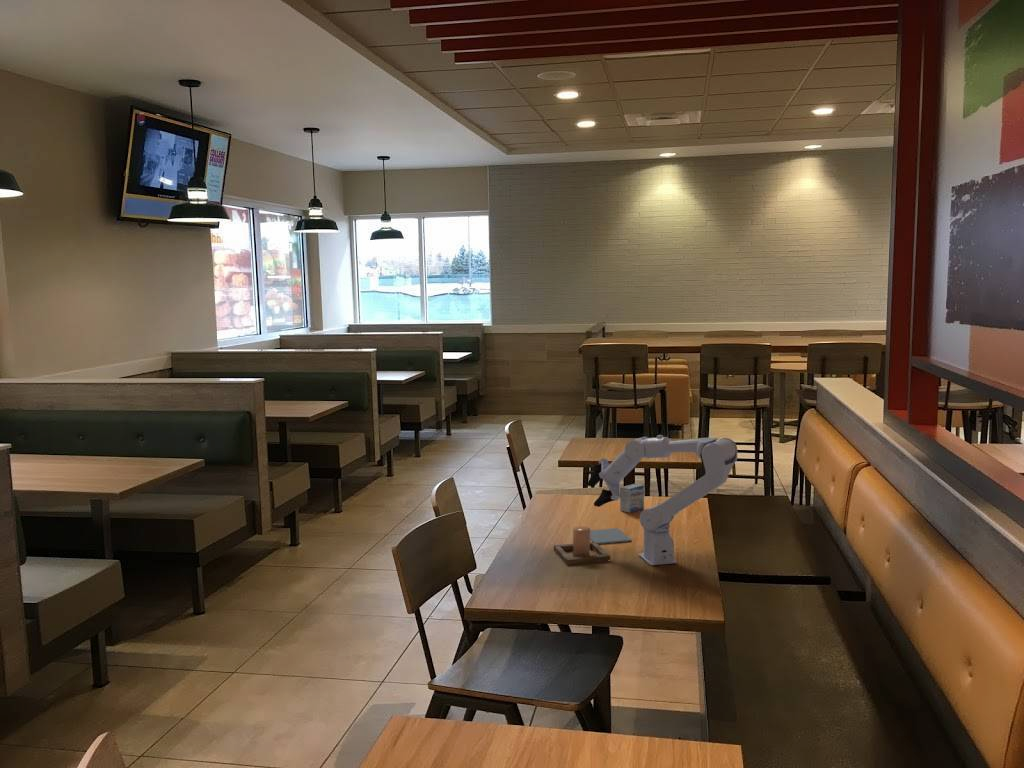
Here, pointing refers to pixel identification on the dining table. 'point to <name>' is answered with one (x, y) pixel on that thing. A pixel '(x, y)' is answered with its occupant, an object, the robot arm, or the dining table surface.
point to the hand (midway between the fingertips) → (593, 495)
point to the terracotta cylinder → (581, 541)
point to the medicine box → (631, 498)
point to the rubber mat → (608, 536)
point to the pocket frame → (577, 560)
